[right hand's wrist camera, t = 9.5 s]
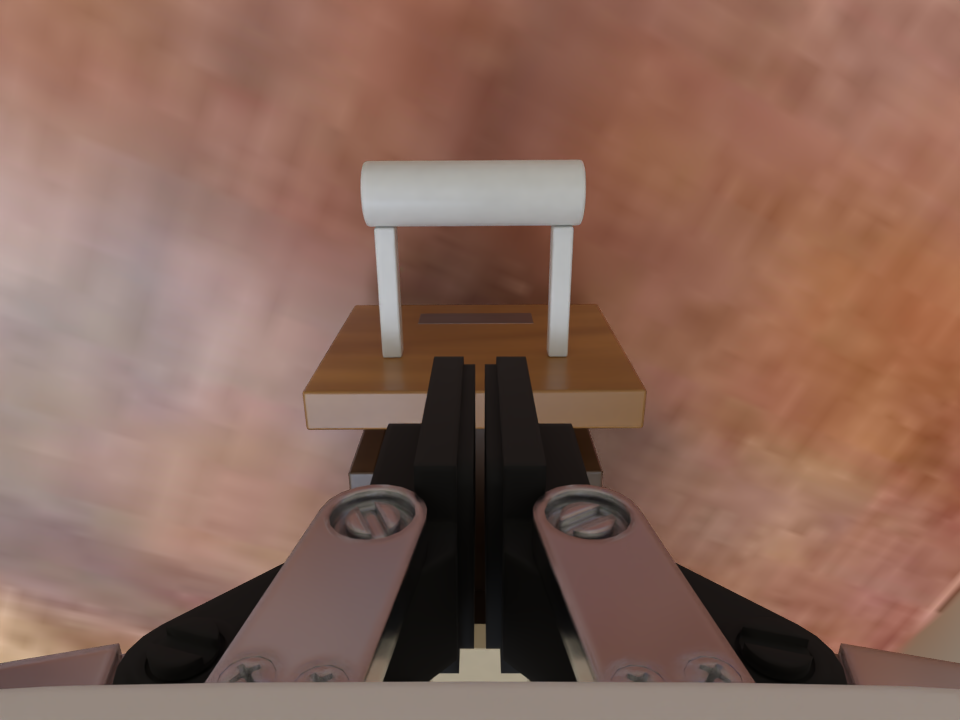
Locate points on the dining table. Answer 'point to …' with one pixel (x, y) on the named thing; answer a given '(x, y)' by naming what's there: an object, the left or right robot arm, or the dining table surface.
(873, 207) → the dining table surface
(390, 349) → the drawer
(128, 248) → the dining table surface
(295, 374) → the dining table surface
